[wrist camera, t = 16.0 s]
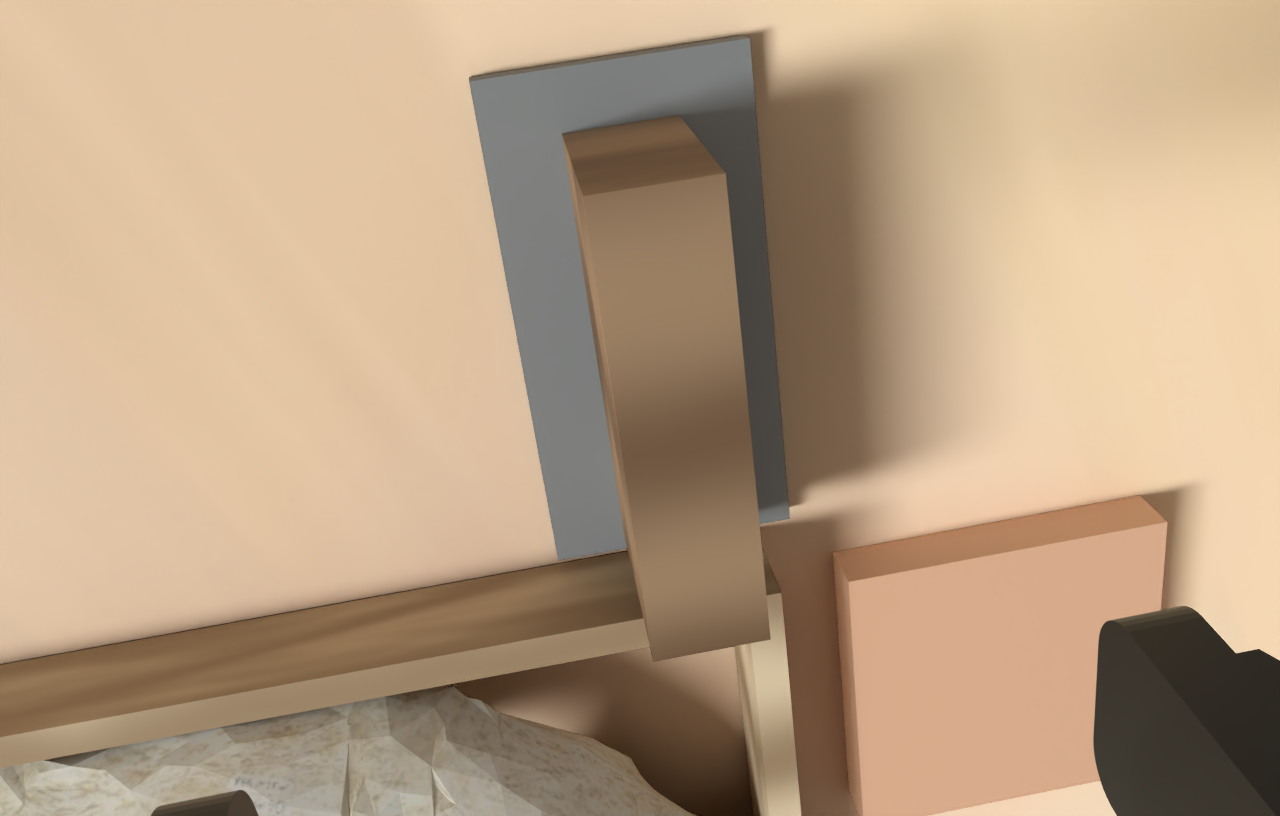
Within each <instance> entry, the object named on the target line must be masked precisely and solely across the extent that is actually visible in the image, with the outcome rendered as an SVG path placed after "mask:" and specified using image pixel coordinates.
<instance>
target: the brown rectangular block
mask: <svg viewBox="0 0 1280 816" xmlns="http://www.w3.org/2000/svg"><path fill="white" fill-rule="evenodd" d="M562 139H563V146H564V152H565V158H566V165H567V171H568V178H569V184H570V191H571V197H572V203H573V210H574V216H575V223H576V229H577V235H578V242H579V248H580V255H581V261H582V268H583V274H584V280H585V287H586V293H587V300H588V306H589V312H590V319H591V325H592V332H593V338H594V345H595V351H596V357H597V364H598V370H599V377H600V383H601V389H602V396H603V402H604V409H605V415H606V422H607V428H608V434H609V441H610V447H611V454H612V460H613V466H614V473H615V479H616V486H617V492H618V499H619V505H620V511H621V518H622V524H623V531H624V537H625V541H626V546H627V550H628V554H629V558H630V563H631V567H632V571H633V576H634V580H635V584H636V589H637V593H638V597H639V601H640V606H641V610H642V614H643V619H644V623H645V627H646V632H647V636H648V640H649V644H650V649H651V653H652V657H653V662H654V661H659V660H664V659H670V658H675V657H680V656H686V655H691V654H696V653H702V652H707V651H712V650H718V649H723V648H728V647H734V646H739V645H744V644H750V643H755V642H760V641H766V640H771V637H770V627H769V616H768V606H767V596H766V585H765V575H764V565H763V554H762V544H761V534H760V523H759V513H758V502H757V492H756V482H755V471H754V461H753V451H752V440H751V430H750V420H749V409H748V399H747V389H746V378H745V368H744V357H743V347H742V337H741V326H740V316H739V306H738V295H737V285H736V275H735V264H734V254H733V244H732V233H731V223H730V212H729V202H728V192H727V181H726V173H725V172H724V171H723V169H722V168H721V167H720V166H719V164H718V163H717V162H716V161H715V159H714V158H713V157H712V156H711V154H710V153H709V152H708V151H707V149H706V148H705V147H704V146H703V144H702V143H701V142H700V141H699V139H698V138H697V137H696V136H695V134H694V133H693V132H692V131H691V129H690V128H689V127H688V126H687V124H686V123H685V122H684V121H683V119H682V118H681V117H680V116H679V115H676V116H670V117H663V118H657V119H651V120H644V121H638V122H632V123H625V124H619V125H613V126H606V127H600V128H594V129H587V130H581V131H574V132H568V133H562Z"/></svg>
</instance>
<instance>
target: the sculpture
mask: <svg viewBox="0 0 1280 816" xmlns="http://www.w3.org/2000/svg"><path fill="white" fill-rule="evenodd" d="M236 790H243V791H245V792H246V793H247V794H248V795H249V796H250V798H251V799H252V801H253V803H254V806H255V808H256V811H257V813H258V816H697V815H695V814H692V813H690V812H687V811H685V810H684V809H682V808H681V807H679V806H678V805H676V804H675V803H673V802H672V801H670V800H669V799H667V798H666V797H664V796H662V795H661V794H659V793H658V792H656V791H655V790H654V789H653V788H652V787H651V786H650V785H649V784H648V783H647V782H646V781H645V779H644V778H643V777H642V776H641V774H640V773H639V771H638V769H637V768H636V766H635V764H634V763H633V761H632V759H631V758H629V757H628V756H626V755H624V754H622V753H620V752H619V751H617V750H614V749H612V748H609V747H607V746H606V745H604V744H602V743H600V742H598V741H596V740H595V739H593V738H590V737H586V736H582V735H579V734H575V733H572V732H568V731H564V730H561V729H557V728H554V727H550V726H546V725H543V724H539V723H535V722H532V721H528V720H524V719H521V718H517V717H513V716H510V715H506V714H502V713H499V712H498V711H496V710H495V709H493V708H492V707H490V706H489V705H487V704H486V703H484V702H482V701H481V700H478V699H472V698H467V697H466V696H465V695H464V694H462V693H461V692H460V691H459V690H458V689H456V688H455V687H433V688H427V689H422V690H417V691H411V692H406V693H401V694H395V695H390V696H385V697H379V698H374V699H369V700H363V701H358V702H352V703H347V704H342V705H336V706H331V707H326V708H320V709H315V710H310V711H304V712H299V713H294V714H288V715H283V716H277V717H272V718H267V719H261V720H256V721H251V722H245V723H240V724H235V725H229V726H224V727H219V728H213V729H208V730H202V731H197V732H192V733H186V734H181V735H176V736H170V737H165V738H160V739H154V740H149V741H144V742H138V743H133V744H127V745H122V746H117V747H111V748H106V749H101V750H95V751H90V752H85V753H79V754H74V755H69V756H63V757H58V758H52V759H47V760H42V761H36V762H31V763H26V764H20V765H15V766H10V767H4V768H0V816H151V814H152V813H153V811H154V810H155V809H156V808H157V807H159V806H161V805H166V804H171V803H176V802H181V801H186V800H191V799H196V798H201V797H206V796H211V795H216V794H221V793H226V792H231V791H236Z"/></svg>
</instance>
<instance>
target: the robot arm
mask: <svg viewBox="0 0 1280 816" xmlns="http://www.w3.org/2000/svg"><path fill="white" fill-rule="evenodd" d="M1093 747H1094V756H1095V762H1096V766H1097V770H1098V774H1099V777H1100V781H1101V783H1102V786H1103V789H1104V791H1105V794H1106V796H1107V798H1108V800H1109V802H1110V804H1111V806H1112V808H1113V810H1114V811H1115V813H1116V815H1117V816H1280V661H1279V660H1277V659H1276V658H1274V657H1272V656H1270V655H1269V654H1267V653H1265V652H1263V651H1261V650H1260V649H1257V650H1252V651H1247V652H1242V653H1237V654H1236V653H1235V652H1234V651H1233V650H1232V649H1231V648H1230V647H1229V646H1228V645H1227V643H1226V642H1225V641H1224V640H1223V639H1222V638H1221V637H1220V636H1219V635H1218V634H1217V632H1216V631H1215V630H1214V629H1213V628H1212V627H1211V626H1210V625H1209V624H1208V623H1207V622H1206V620H1205V619H1204V618H1203V617H1202V616H1201V615H1200V614H1199V613H1198V612H1196V611H1195V610H1193V609H1192V608H1190V607H1187V606H1180V607H1175V608H1170V609H1164V610H1159V611H1154V612H1149V613H1144V614H1139V615H1134V616H1129V617H1124V618H1119V619H1114V620H1109V621H1107V622H1105V623H1104V624H1103V626H1102V628H1101V630H1100V634H1099V642H1098V661H1097V680H1096V698H1095V717H1094V736H1093ZM151 816H258V813H257V811H256V808H255V806H254V803H253V801H252V799H251V798H250V796H249V795H248V794H247V793H246V792H245V791H243V790H236V791H231V792H226V793H221V794H216V795H211V796H206V797H201V798H196V799H191V800H186V801H181V802H176V803H171V804H166V805H161V806H159V807H157V808H156V809H155V810H154V811H153V813H152V814H151Z"/></svg>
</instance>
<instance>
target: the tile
mask: <svg viewBox="0 0 1280 816" xmlns="http://www.w3.org/2000/svg"><path fill="white" fill-rule="evenodd" d="M1167 523H1168V522H1167V521H1166V520H1165V519H1164V518H1163V517H1162V516H1161V515H1160V514H1159V513H1158V512H1157V511H1156V510H1155V509H1153V508H1152V507H1151V506H1150V505H1149V504H1148V503H1147V502H1146V501H1145V500H1144V499H1143V498H1142V497H1141V496H1140V495H1138V496H1133V497H1128V498H1122V499H1117V500H1111V501H1106V502H1101V503H1095V504H1090V505H1084V506H1079V507H1074V508H1068V509H1063V510H1058V511H1052V512H1047V513H1041V514H1036V515H1031V516H1025V517H1020V518H1014V519H1009V520H1004V521H998V522H993V523H988V524H982V525H977V526H971V527H966V528H961V529H955V530H950V531H944V532H939V533H934V534H928V535H923V536H918V537H912V538H907V539H901V540H896V541H891V542H885V543H880V544H874V545H869V546H864V547H858V548H853V549H848V550H842V551H837V552H833V561H834V576H835V591H836V605H837V620H838V634H839V649H840V664H841V678H842V693H843V707H844V722H845V736H846V751H847V766H848V780H849V793H850V795H851V798H852V800H853V803H854V805H855V808H856V810H857V812H858V815H859V816H927V815H932V814H937V813H942V812H947V811H952V810H957V809H962V808H967V807H972V806H977V805H982V804H987V803H992V802H997V801H1001V800H1006V799H1011V798H1016V797H1021V796H1026V795H1031V794H1036V793H1041V792H1046V791H1051V790H1056V789H1061V788H1066V787H1071V786H1076V785H1081V784H1086V783H1091V782H1096V781H1100V777H1099V774H1098V770H1097V766H1096V762H1095V756H1094V747H1093V736H1094V717H1095V698H1096V680H1097V661H1098V642H1099V634H1100V630H1101V628H1102V626H1103V624H1104V623H1105V622H1107V621H1109V620H1114V619H1119V618H1124V617H1129V616H1134V615H1139V614H1144V613H1149V612H1154V611H1159V610H1161V601H1162V588H1163V575H1164V562H1165V549H1166V536H1167Z"/></svg>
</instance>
